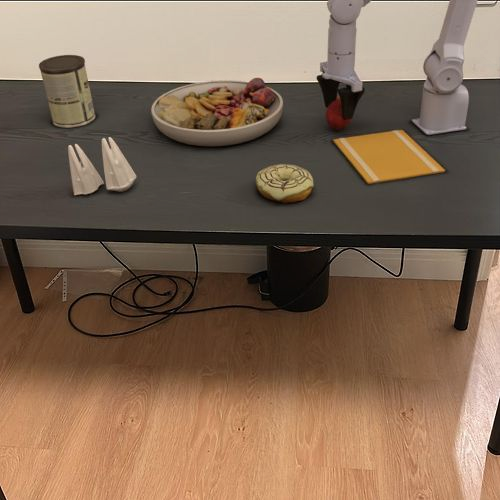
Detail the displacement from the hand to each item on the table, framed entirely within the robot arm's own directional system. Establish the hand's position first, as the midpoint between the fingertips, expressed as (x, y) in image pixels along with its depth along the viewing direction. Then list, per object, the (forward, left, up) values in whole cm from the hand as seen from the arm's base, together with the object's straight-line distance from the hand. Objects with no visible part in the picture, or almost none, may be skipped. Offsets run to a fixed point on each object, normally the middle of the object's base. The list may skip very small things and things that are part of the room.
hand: (338, 112), depth 139 cm
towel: (-5, +15, -4) cm, 16 cm away
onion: (0, 0, -4) cm, 4 cm away
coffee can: (+58, -26, -4) cm, 64 cm away
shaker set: (+52, +12, -4) cm, 53 cm away
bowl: (+25, -12, -4) cm, 28 cm away
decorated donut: (+19, +23, -4) cm, 30 cm away
